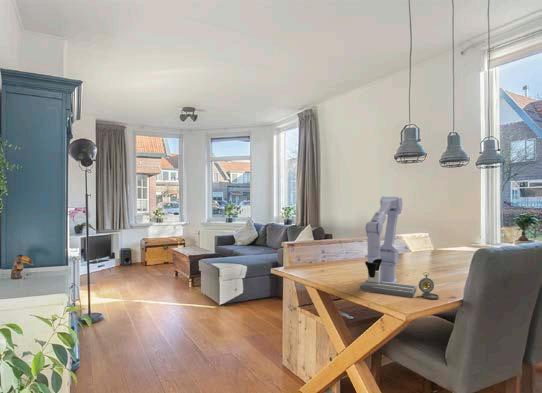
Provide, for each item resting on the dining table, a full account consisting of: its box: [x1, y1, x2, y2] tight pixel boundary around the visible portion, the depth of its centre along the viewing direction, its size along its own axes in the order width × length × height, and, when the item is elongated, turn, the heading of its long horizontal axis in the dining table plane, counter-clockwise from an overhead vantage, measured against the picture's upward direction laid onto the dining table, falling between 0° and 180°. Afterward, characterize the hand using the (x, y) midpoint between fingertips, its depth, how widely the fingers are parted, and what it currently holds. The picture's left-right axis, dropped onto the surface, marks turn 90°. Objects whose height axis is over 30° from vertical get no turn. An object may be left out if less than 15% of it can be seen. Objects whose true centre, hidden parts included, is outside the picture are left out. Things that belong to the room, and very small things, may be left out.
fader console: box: [359, 279, 417, 298], centre depth 158 cm, size 12×23×3 cm, turn 60°
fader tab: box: [367, 270, 380, 284], centre depth 161 cm, size 4×5×6 cm
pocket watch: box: [418, 272, 440, 300], centre depth 148 cm, size 8×8×10 cm
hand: (373, 275), depth 161 cm, fingers open, 7 cm apart
